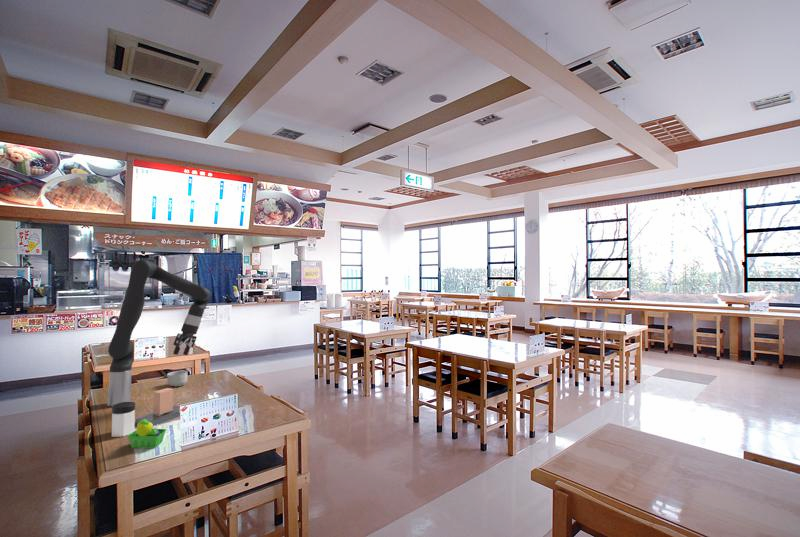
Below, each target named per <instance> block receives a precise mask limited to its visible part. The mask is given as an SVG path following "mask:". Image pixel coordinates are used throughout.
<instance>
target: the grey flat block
mask: <svg viewBox="0 0 800 537" xmlns="http://www.w3.org/2000/svg"><path fill="white" fill-rule="evenodd" d="M179 406H180V405H175V404H173V410H172V411H171V412H170V413H164V414H163V415H162V416H155V414H153V412H151V413H148V414H147V415H146V414H145V415H143V416H140V417H138V418H135V425H136V424H138V423H139V422H140V421H142V420H143V419H146V420H147V421H148V422H150V423H152V424H153V427H155V426H158V425H160V423H161V424H164V423H165V422H169V421H172V420H174V419H175V418H178V417H179V418H180V417H181V416H180V413H179ZM157 424H158V425H157ZM154 425H155V426H154Z"/></svg>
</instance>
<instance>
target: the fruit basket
mask: <svg viewBox="0 0 800 537" xmlns="http://www.w3.org/2000/svg"><path fill="white" fill-rule="evenodd" d="M136 426H137V427H136V430H134V432H133V433H131V434H129V435H127V438H128V439H129V444H130V446H131V449H132V448H133V449H134V448H135V449H136V448H138V449H155V448H157V447H158V446H159V445H161V444H162V443H163V440H164V438H165V433H166V431H167V429H166V428H153V427H154V426H153V424H152V423H150V422H148V421H147V420H146V419H143V420H142V421H140V422H139V423H138V424H137V425H136ZM161 442H162V443H161ZM157 445H158V446H157ZM156 446H157V447H156ZM149 447H151V448H149ZM154 447H155V448H154Z"/></svg>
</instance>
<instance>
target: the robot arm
mask: <svg viewBox="0 0 800 537" xmlns="http://www.w3.org/2000/svg"><path fill="white" fill-rule="evenodd" d="M129 273H130V274H129V275H130V276H129V280H128V286H127V287H126V288H127V289H126V292H125V295H124V299H123V301H122V304H121V308H120V312H119V316H118V319H117V323H116V327H115V331H114V333H113V336H112V338H111V340H110V343H109V345H108V347H107V348H108V350H107V351H108V354H109V356H110V357H111V358H112V360H111V364H110V366H109V381H108V382H109V383H108V384H109V386H108V387H107V402H106V403H107V404H106V406H107V407H112V406H113V405H115V404H117V403H122V402H132V400H131V399H132V396H131V395H132V369H133V368H132V366H133V363H134V356H135V354H134V352H135V346H134V343H133V341H132V340H131V338H132V333H133V331H134V329H135V327H136V325H137V324H138V322H139V320H140V318H141V316H142V313H143V309H144V306H145V285H146V283H147V280H148V278H149V279H153V280H156V281H159V282H161V283H163V284H165V285H166V286H168V287H169V288H171V289H173V290H175V291H177V292H179V293H182V294H185V295H188V296H189V297H192V298H193V299H194V301H193V303H192V304H191V306H190V307H189V309H188V312H187V315H186V317H185V319H184V321H183V324H182V326H181V330H180V331H181V332H182V333H177V335H176V336H175V339H174V342H173V344H172V345H173V346H175V348H174V350H173V355H179V353H180V349H181V347H183V345H185V348H184V349H183V350H184V351H183V353H182V355H184V356H188V355H189V352H190V349H191V348H194V346H195V342H196V340H197V336H196V334H197V333H198V330H199V328H200V325H201V322H202V318H203V315H204V313H205V309H206V307H207V306H208V304H209V301H210V299H211V297H212V296H211V295H212V293H211V291H210V290H209V289H208V288H206V287H204V286H202V285H198V284H197V283H196V284H195V283H194V282H192V281H190V280H188V279H186V278H183V277H181V276H179V275H176V274H174V273H171V272H169V271H167V270H165V269H164V268H162V267H160V266H158V265H157V264H156V263H155V262H153V261H151V260H148V259H138V260H135V262H134V263H133V264H132V266H131V268H130V272H129Z"/></svg>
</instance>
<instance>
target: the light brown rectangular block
mask: <svg viewBox="0 0 800 537" xmlns="http://www.w3.org/2000/svg"><path fill="white" fill-rule="evenodd" d="M174 390H175V389H174V388H172V387H171V388H170V387H166V388H162V389H160V390H156V391H154V392H153V408H152V411H153V412H152V413H153V414H155V416H162V415H163V414H164V413H170V412H171V411H172V410H173V406H174V394H175V393H174Z"/></svg>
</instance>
